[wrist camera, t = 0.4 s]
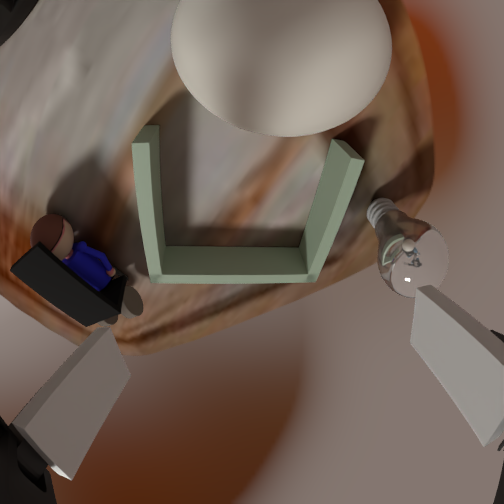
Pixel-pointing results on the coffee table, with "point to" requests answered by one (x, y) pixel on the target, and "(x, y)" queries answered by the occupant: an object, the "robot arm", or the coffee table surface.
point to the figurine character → (75, 275)
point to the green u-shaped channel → (242, 258)
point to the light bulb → (407, 249)
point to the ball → (282, 60)
